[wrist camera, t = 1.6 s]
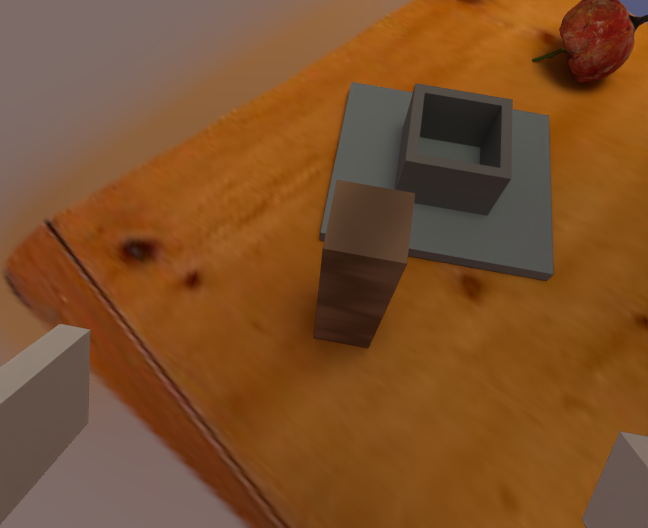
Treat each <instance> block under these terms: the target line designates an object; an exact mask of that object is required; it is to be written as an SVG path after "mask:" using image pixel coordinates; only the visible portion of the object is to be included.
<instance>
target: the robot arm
mask: <svg viewBox="0 0 648 528" xmlns="http://www.w3.org/2000/svg"><path fill="white" fill-rule="evenodd" d="M89 359H90V330H89V329H84V328H79V327H74V326H68V325H63V324H59V325H58V326H56V327H55V328H54V329H52V330H51V331H49V332H48V333H47V334H45V335H44V336H43V337H41V338H40V339H39V340H37V341H36V342H35V343H33V344H32V345H31V346H29V347H28V348H26V349H25V350H23V351H22V352H21V353H19V354H18V355H17V356H15V357H14V358H12V359H11V360H10V361H8V362H7V363H6V364H4V365H3V366H1V367H0V524H1V523H2V522H3V521H4V520H5V518H6V517H7V516H8V515H9V514H10V513H11V512H12V510H13V509H14V508H15V507H16V506H17V504H18V503H19V502H20V501H21V500H22V499H23V498H24V496H25V495H26V494H27V493H28V492H29V491H30V489H31V488H32V487H33V486H34V485H35V484H36V483H37V481H38V480H39V479H40V478H41V477H42V476H43V474H44V473H45V472H46V471H47V470H48V469H49V467H50V466H51V465H52V464H53V463H54V462H55V461H56V459H57V458H58V457H59V456H60V455H61V454H62V452H63V451H64V450H65V449H66V448H67V447H68V445H69V444H70V443H71V442H72V441H73V440H74V438H75V437H76V436H77V435H78V434H79V433H80V432H81V430H82V429H83V428H84V427H85V426H86V425H87V423H88V409H89ZM582 520H583V522H584V524H585V526H586V528H648V437H647V436H642V435H637V434H631V433H626V432H621V431H620V432H619V435H618V437H617V439H616V442H615V444H614V446H613V449H612V451H611V453H610V456H609V458H608V460H607V463H606V465H605V467H604V469H603V472H602V474H601V476H600V479H599V481H598V483H597V486H596V488H595V490H594V493H593V495H592V497H591V500H590V502H589V504H588V507H587V509H586V511H585V514H584V516H583V518H582Z"/></svg>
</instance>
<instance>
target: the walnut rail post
mask: <svg viewBox="0 0 648 528" xmlns="http://www.w3.org/2000/svg"><path fill="white" fill-rule="evenodd" d="M414 199H415V193H411V192H405V191H399V190H393V189H388V188H382V187H376V186H371V185H365V184H359V183H354V182H348V181H342V180H337V181H336V186H335V191H334V195H333V200H332V205H331V210H330V215H329V220H328V225H327V230H326V235H325V240H324V245H323V252H322V262H321V271H320V281H319V291H318V300H317V310H316V320H315V330H314V338H316V339H321V340H327V341H332V342H338V343H343V344H348V345H354V346H359V347H364V348H369V346H370V343H371V341H372V339H373V337H374V335H375V333H376V330H377V328H378V326H379V324H380V322H381V319H382V317H383V315H384V313H385V311H386V309H387V306H388V304H389V302H390V300H391V298H392V295H393V293H394V291H395V289H396V287H397V285H398V282H399V280H400V278H401V276H402V274H403V271H404V269H405V267H406V265H407V260H408V251H409V243H410V234H411V225H412V216H413V208H414Z"/></svg>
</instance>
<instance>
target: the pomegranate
mask: <svg viewBox="0 0 648 528" xmlns="http://www.w3.org/2000/svg"><path fill="white" fill-rule="evenodd" d="M647 21H648V15H646V16H642V17H634V16H631V15H629V14H628V12H626V7H625V6H624V5H623V4H622V3H621V2H619V1H618V0H582V1H581V2H580V3H578V4H577V5H576V6H575V7H573V8H572V9H571V10H570V11H568V12H567V14H566V15H565V17H564V18H563V21H562V24H561V27H560V29H559V30H560V35H561V37H562V39H563V43H564V45H565V47H564V48H561V49H559V50H557V51H555V52H552V53H550V54H547V55H544V56H541V57H538V58H535V59H532V61H533V62H535V61H539V60H542V59H545V58H551V57H553V56H554V55H557V54H559V53H562V52H566V53H567V52H568V54H567V57H568V60H569V61H568V65H569V67H570V69H571V71H572V73H573V77H574V79H575V81H577V82H591V81H595V80H599V79H602V78H605V77H607V76H608V75H610V74H612V73H613V72H615V71H616V70H617V69H618V68H619V67H621V66H622V65H623V64H624V62H625V61H626V60H627V59H628V57H629V55H630V53H631V52H632V49H633V45H634V33H635V31H636V29H637V28H638V26H639V25H641V24H643V23H644V22H647ZM568 55H569V56H568Z"/></svg>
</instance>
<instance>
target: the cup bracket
mask: <svg viewBox="0 0 648 528" xmlns="http://www.w3.org/2000/svg"><path fill="white" fill-rule="evenodd" d="M337 180H342V181H348V182H354V183H359V184H365V185H371V186H376V187H382V188H388V189H393V190H399V191H405V192H411V193H415V199H414V208H413V216H412V225H411V234H410V243H409V251H408V256H412V257H417V258H423V259H429V260H434V261H440V262H445V263H451V264H456V265H462V266H468V267H473V268H479V269H484V270H490V271H495V272H501V273H506V274H512V275H518V276H523V277H529V278H534V279H540V280H545V281H547V280H548V279H549V278H550V277H551V276H552V275H553V274H554V273H553V240H552V206H551V173H550V140H549V115H543V114H537V113H531V112H525V111H519V110H513V109H512V100H511V99H505V98H499V97H493V96H487V95H481V94H476V93H470V92H464V91H458V90H452V89H446V88H440V87H434V86H428V85H422V84H416V83H415V87H414V90H413V92H407V91H401V90H395V89H389V88H383V87H377V86H372V85H366V84H360V83H354V82H351V87H350V92H349V97H348V101H347V106H346V111H345V116H344V121H343V126H342V130H341V135H340V140H339V145H338V150H337V155H336V159H335V164H334V169H333V174H332V179H331V184H330V188H329V193H328V198H327V203H326V208H325V213H324V217H323V222H322V227H321V232H320V240H323V241H324V240H325V235H326V230H327V225H328V220H329V215H330V210H331V205H332V200H333V195H334V191H335V186H336V181H337Z"/></svg>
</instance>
